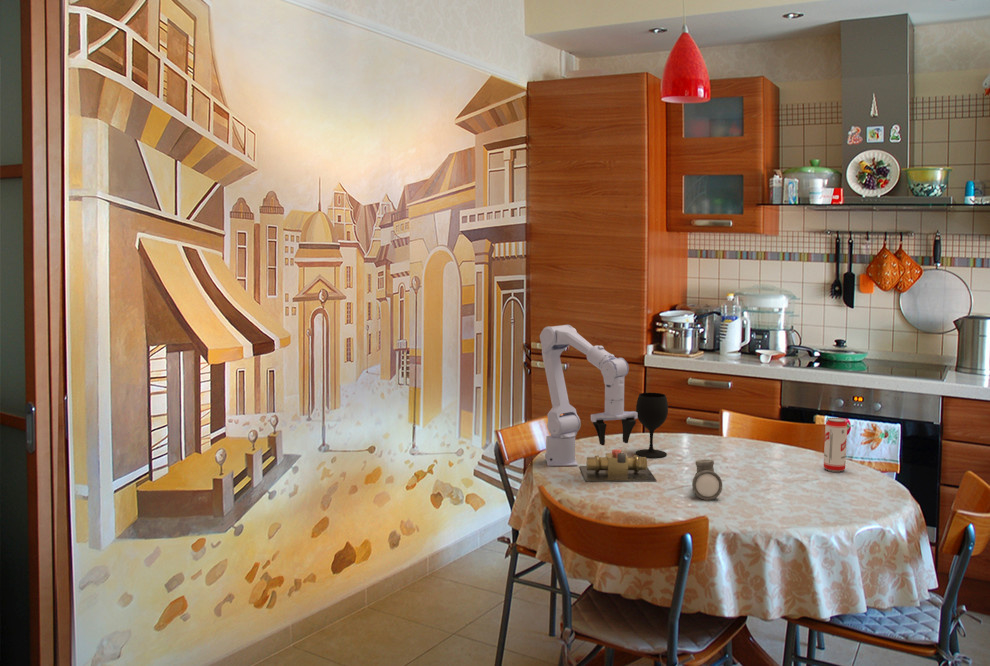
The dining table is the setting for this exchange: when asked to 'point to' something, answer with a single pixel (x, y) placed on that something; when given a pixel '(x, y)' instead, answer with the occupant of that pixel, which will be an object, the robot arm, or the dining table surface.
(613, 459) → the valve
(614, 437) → the dining table surface
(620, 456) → the lever
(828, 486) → the dining table surface
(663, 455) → the wine glass
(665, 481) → the dining table surface
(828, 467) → the beer can
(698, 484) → the pipe fitting
